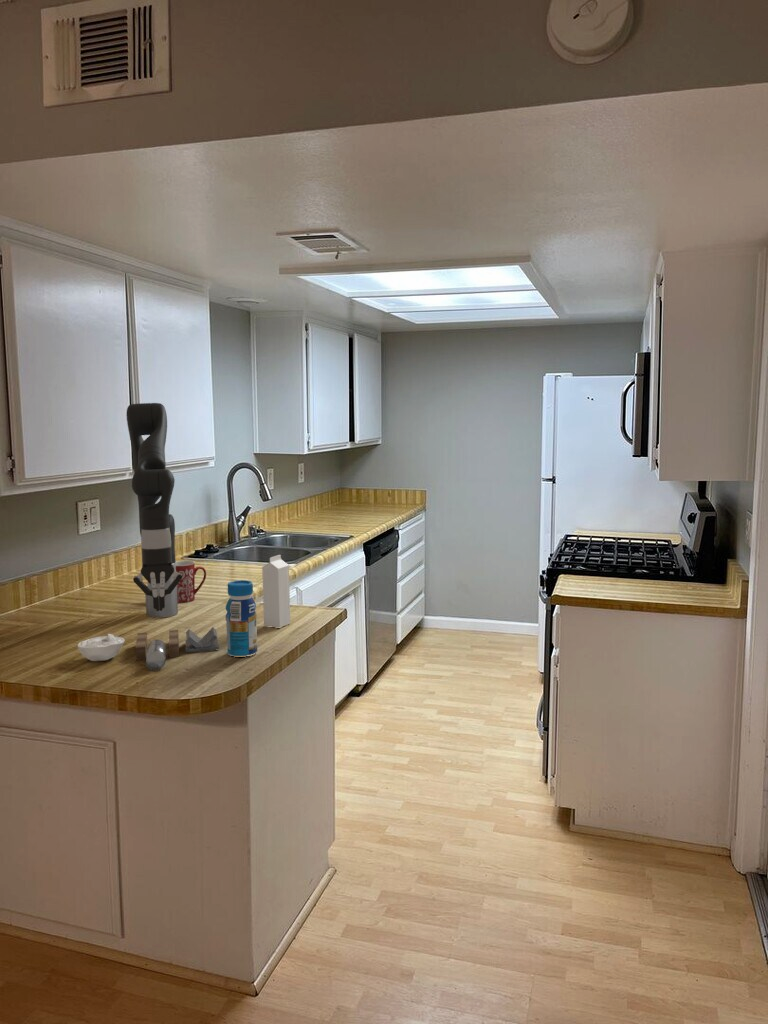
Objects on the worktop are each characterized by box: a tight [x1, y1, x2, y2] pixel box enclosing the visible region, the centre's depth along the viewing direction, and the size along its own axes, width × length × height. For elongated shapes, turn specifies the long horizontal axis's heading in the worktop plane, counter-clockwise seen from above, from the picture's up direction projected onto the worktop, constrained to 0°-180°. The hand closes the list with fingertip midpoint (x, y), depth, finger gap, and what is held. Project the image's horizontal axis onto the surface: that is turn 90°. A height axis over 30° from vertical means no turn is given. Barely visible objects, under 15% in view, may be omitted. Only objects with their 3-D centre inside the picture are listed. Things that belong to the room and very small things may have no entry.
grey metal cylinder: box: [145, 639, 167, 672], centre depth 203 cm, size 12×5×5 cm, turn 15°
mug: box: [176, 560, 207, 604], centre depth 269 cm, size 13×9×14 cm
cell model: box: [77, 633, 126, 662], centre depth 206 cm, size 10×12×7 cm
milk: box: [261, 554, 291, 627], centre depth 236 cm, size 6×6×22 cm
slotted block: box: [134, 629, 180, 661], centre depth 213 cm, size 14×11×4 cm
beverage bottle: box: [225, 579, 258, 657], centre depth 209 cm, size 8×8×20 cm
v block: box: [184, 627, 220, 654], centre depth 216 cm, size 9×9×4 cm
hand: (159, 610), depth 201 cm, fingers closed
